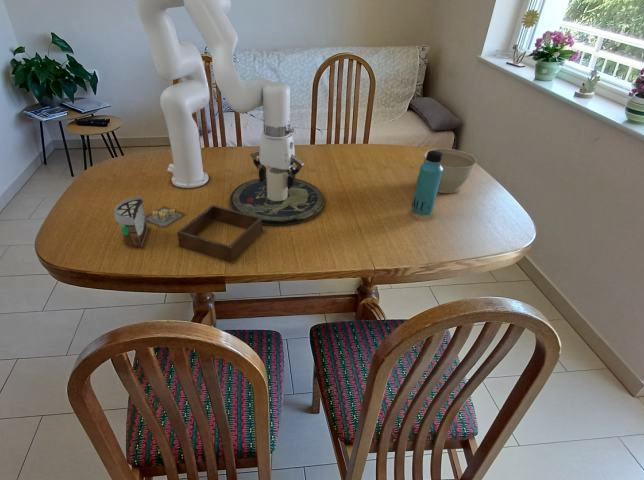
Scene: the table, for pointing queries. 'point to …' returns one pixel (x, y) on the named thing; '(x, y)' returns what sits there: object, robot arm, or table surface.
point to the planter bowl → (454, 169)
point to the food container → (132, 220)
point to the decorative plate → (278, 202)
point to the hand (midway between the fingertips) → (276, 183)
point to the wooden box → (215, 248)
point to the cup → (277, 184)
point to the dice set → (163, 217)
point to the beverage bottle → (427, 184)
